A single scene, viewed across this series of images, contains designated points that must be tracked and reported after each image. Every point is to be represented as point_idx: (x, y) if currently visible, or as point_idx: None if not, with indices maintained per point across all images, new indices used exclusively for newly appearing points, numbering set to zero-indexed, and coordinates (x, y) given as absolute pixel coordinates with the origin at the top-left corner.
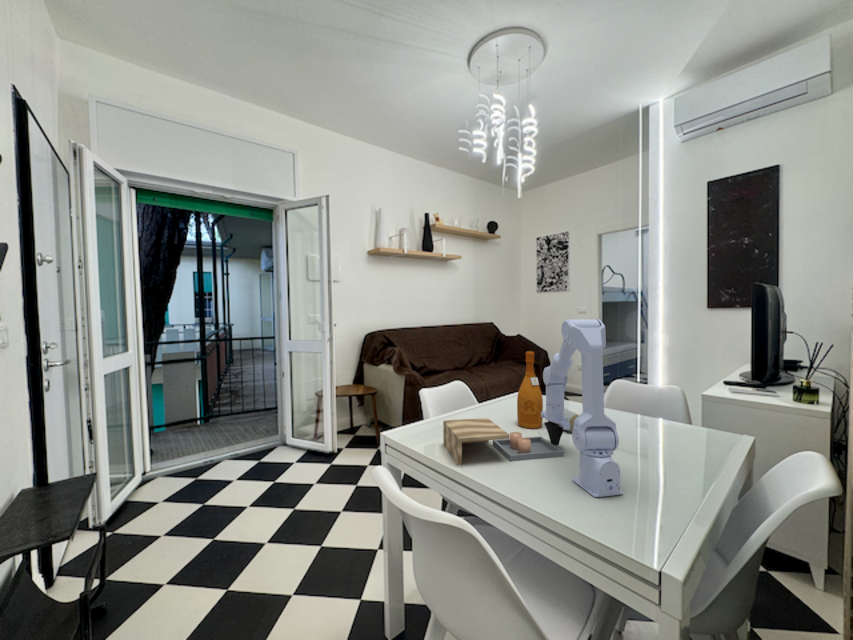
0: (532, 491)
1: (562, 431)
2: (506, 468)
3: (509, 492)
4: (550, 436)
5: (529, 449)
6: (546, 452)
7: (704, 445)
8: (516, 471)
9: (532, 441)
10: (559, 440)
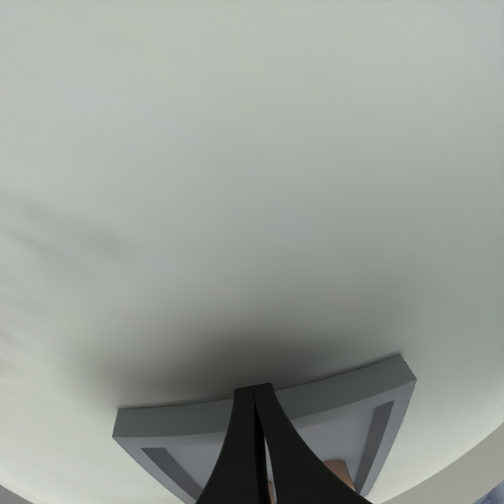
0: (494, 418)
1: (339, 483)
2: (397, 475)
3: (473, 444)
4: (267, 474)
5: (351, 482)
6: (391, 440)
7: None
8: (421, 459)
9: (162, 453)
10: (283, 411)
